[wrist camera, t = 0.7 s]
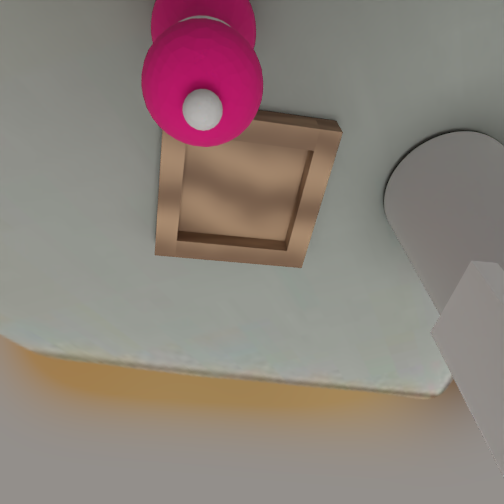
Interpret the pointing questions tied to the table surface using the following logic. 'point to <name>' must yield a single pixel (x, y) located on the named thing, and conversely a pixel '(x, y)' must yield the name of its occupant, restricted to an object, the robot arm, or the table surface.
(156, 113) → the pepper mill
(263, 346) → the table surface
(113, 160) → the table surface
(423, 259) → the cylinder vase
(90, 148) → the table surface
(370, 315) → the table surface
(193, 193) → the walnut holder
